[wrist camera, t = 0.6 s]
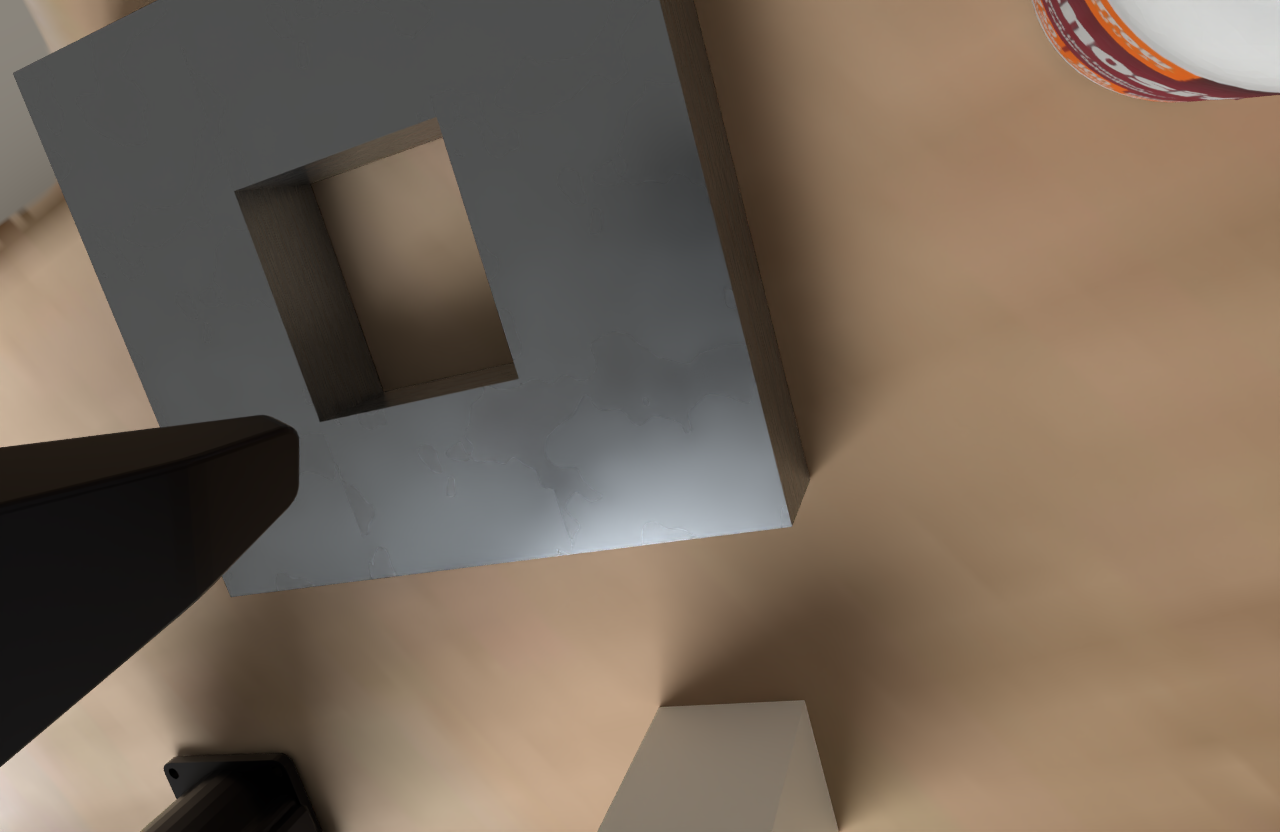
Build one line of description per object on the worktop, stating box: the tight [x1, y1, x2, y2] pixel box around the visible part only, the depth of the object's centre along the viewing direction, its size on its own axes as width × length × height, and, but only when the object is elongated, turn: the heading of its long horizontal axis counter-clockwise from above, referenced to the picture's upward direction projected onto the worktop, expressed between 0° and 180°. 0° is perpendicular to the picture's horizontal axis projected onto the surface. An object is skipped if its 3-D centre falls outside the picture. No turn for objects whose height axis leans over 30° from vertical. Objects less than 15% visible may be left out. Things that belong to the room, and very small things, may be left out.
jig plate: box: [13, 0, 810, 597], centre depth 23 cm, size 18×16×3 cm
